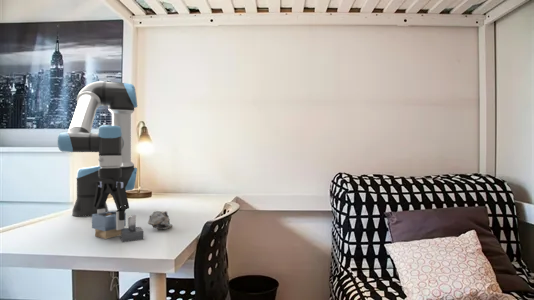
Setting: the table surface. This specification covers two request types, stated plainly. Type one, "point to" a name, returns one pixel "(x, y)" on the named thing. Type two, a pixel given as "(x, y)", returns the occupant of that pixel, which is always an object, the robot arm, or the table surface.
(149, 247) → the table surface
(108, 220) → the collar
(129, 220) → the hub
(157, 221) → the mineral specimen
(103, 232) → the stand
